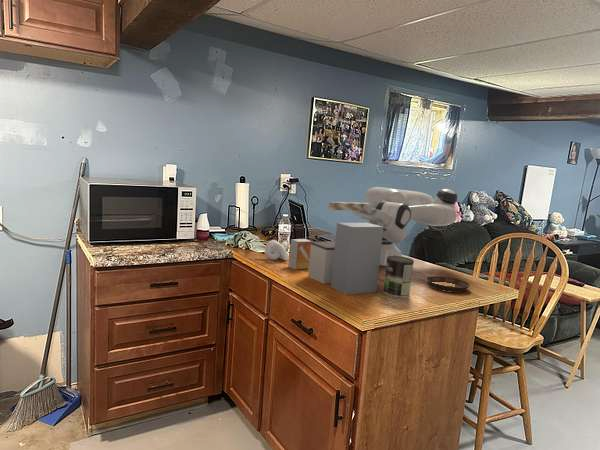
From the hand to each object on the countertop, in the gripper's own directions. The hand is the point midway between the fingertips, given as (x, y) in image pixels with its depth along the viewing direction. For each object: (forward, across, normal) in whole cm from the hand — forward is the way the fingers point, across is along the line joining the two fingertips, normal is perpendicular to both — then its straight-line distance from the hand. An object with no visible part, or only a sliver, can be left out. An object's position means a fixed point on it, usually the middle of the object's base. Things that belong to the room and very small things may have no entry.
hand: (359, 205), depth 183 cm
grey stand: (-6, +16, +33) cm, 37 cm away
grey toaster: (-7, 0, +33) cm, 33 cm away
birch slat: (+4, 0, +4) cm, 6 cm away
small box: (-2, -20, +36) cm, 41 cm away
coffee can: (-18, +26, +26) cm, 41 cm away
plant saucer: (-44, +25, +12) cm, 52 cm away
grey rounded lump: (-1, -38, +37) cm, 53 cm away
